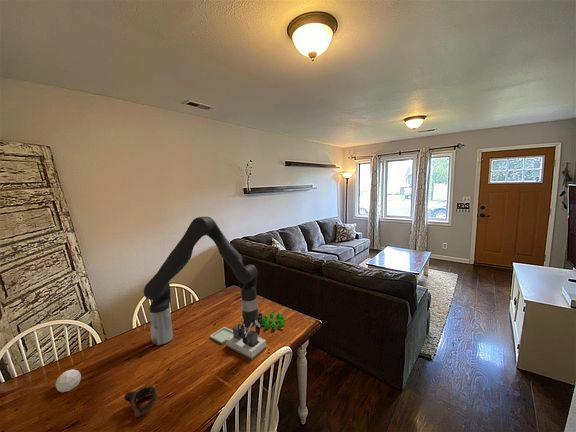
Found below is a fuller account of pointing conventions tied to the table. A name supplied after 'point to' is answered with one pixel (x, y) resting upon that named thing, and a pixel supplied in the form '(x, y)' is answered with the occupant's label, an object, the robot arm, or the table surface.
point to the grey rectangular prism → (252, 338)
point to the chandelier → (278, 316)
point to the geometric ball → (68, 380)
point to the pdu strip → (244, 345)
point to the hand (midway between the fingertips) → (251, 338)
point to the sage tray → (221, 335)
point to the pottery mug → (139, 395)
